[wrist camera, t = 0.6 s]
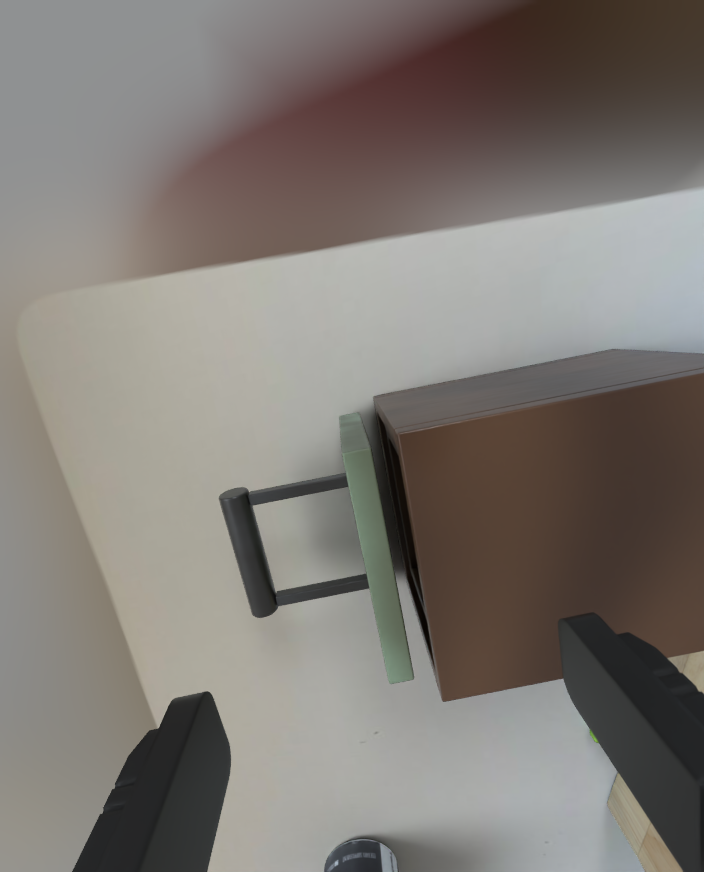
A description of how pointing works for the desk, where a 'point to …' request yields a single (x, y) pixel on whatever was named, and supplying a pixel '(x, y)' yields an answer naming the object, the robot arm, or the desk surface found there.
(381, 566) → the drawer
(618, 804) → the block set
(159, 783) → the robot arm
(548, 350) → the desk surface
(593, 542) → the cabinet
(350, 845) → the pill bottle
